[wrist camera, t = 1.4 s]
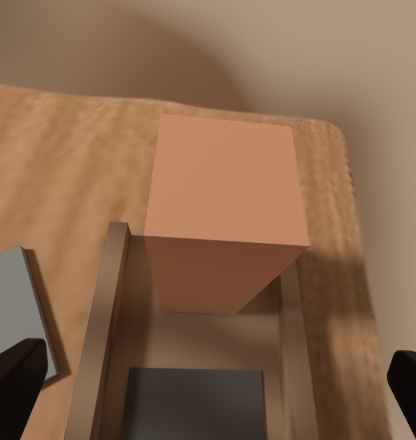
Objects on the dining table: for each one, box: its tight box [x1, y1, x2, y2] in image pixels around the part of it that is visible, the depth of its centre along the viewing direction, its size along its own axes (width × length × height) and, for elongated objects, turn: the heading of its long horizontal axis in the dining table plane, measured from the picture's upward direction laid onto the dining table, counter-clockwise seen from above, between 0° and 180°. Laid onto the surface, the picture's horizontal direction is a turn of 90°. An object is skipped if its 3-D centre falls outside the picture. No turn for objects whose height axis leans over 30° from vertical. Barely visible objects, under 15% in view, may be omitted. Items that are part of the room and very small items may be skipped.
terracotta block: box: [144, 114, 310, 314], centre depth 15 cm, size 5×5×12 cm
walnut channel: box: [64, 222, 319, 440], centre depth 18 cm, size 14×13×3 cm
